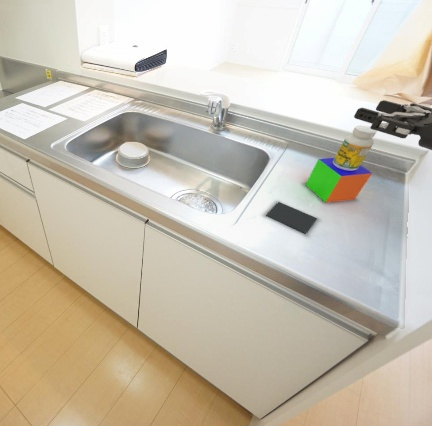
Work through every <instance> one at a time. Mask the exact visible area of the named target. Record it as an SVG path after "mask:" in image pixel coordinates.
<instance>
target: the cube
mask: <svg viewBox="0 0 432 426" xmlns="http://www.w3.org/2000/svg"><path fill="white" fill-rule="evenodd" d="M334 158H335V157H327V158H318V159H317V161H316V163H315V165H314V167H313V169H312V171H311V173H310V175H309V176H308V178H307V180H306V183H305V184H304V185H305V186H306V187H307V188H309V189H310V190H311V191H312V192H313V194H315V195H316V196H318V197H319V198H320V199H321V200H322V201H323V202H324V203H333V202H335V203H336V202H342V201H351V200H352V201H353V200H354V201H355V200H356V199H357V197H358V195H359V194H360V192H361V190H363V188H364V186H365V185H366V183H367V182H368V181H369V180H370V178H371V177H372V175H373V172H372V171H370V170H369V169H367V168H366V167H364V166H363V165H362V164H361V165H360V166H359V168H358V169H357V170H354V171H346V170H343V169H339V168H337V167H336V166H334V164H333V160H334Z"/></svg>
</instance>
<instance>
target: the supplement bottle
mask: <svg viewBox="0 0 432 426" xmlns="http://www.w3.org/2000/svg"><path fill="white" fill-rule="evenodd" d="M370 127H371V126H368V125H362V124H361V125H360V124H359V125H356V126H354V128H353V130H352V133H350V134H348V135H347V136H345V138H344V140H343V142H342V143H341V145H340V147H339V149H338V151H337V152H336V154H335V155H334V157H333V158H334V160H333V164H334V166H336V167H337V168H339V169H343V170H346V171H354V170H357V169H358V168H359V166H360V165H361V166H362V164H363V162H364V160H365V159H366V156H367V155H368V153H369V152H370V151H371V149H372V147H373V145H374V144H375V143H374V139H373V138H374V137H375V135H376V134H377V132H378V131H377V130H373V129H371V128H370Z"/></svg>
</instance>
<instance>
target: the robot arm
mask: <svg viewBox="0 0 432 426" xmlns="http://www.w3.org/2000/svg"><path fill="white" fill-rule="evenodd" d="M353 118H354V119H356V120H359V121H362V122H365V123H369V124H371V125H370V126H369V127H370V128H371V129H373V130H377V132H380V133H383V134H386V135H390V136H393V137H396V138H400V139H407V137H408V136H409V135H410V136H411V135H415V136H419V140H418V144H417V145H418V146H419V147H421V148H424V149H426V150H429V151H432V107H429V106H427V105H421V104H417V103H415V102H411V103H409V104H408V103H403V104H401V103H398V102H394V101H389V100H385V99H383V100H381V101H379V102H378V104H377V105H376V107H375V110H372V109H369V108H366V107H359V108H357V110H356V111H355V113H354V115H353Z"/></svg>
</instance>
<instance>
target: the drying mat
mask: <svg viewBox="0 0 432 426" xmlns="http://www.w3.org/2000/svg"><path fill="white" fill-rule="evenodd" d="M266 217H267V218H270V219H272V220H275V221H276V222H279V223H281V224H283V225H285V226H287V227H289V228H291V229H294V230H295V231H298V232H300V233H302V234H304V235H306V234H307V233H308V232H309V230H310V229H311V228H312V226H313V225H314V224H315V222H316V221H317V220H318V218H317V217H315V216H313V215H310V214H308V213H306V212H304V211H301V210H299V209H297V208H294V207H292V206H289V205H287V204H285V203H283V202H280V201H278V202H277V203H275V205H274V206H273V207H272V208H271V209H270V210H269V211H268V212H267V213H266Z"/></svg>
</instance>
